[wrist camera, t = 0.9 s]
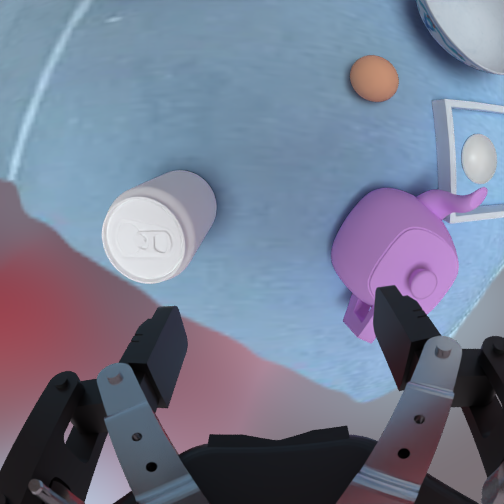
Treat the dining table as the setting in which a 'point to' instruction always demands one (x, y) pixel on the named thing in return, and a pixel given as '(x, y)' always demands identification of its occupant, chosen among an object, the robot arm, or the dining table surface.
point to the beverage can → (158, 226)
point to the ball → (374, 78)
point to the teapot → (398, 250)
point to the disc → (479, 158)
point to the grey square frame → (448, 158)
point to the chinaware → (468, 30)
